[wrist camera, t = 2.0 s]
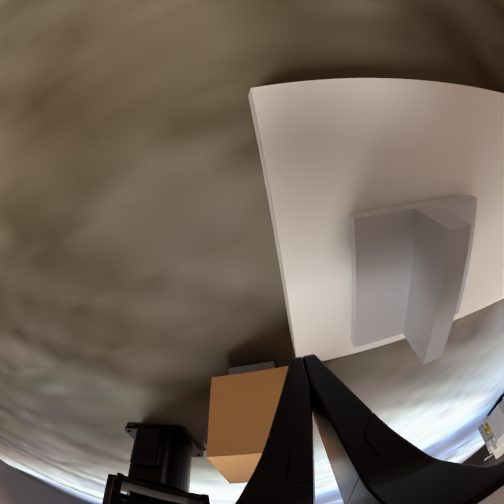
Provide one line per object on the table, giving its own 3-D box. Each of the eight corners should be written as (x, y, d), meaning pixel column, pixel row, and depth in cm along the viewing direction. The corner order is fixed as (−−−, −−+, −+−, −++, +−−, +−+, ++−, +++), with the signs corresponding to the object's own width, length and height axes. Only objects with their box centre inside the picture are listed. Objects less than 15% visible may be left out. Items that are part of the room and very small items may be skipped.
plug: (291, 391, 21) (306, 474, 14) (230, 401, 21) (230, 483, 14) (284, 349, 19) (302, 446, 12) (212, 361, 19) (206, 456, 12)
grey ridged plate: (453, 307, 14) (480, 338, 11) (350, 339, 14) (369, 382, 11) (469, 194, 11) (511, 214, 8) (348, 213, 11) (381, 244, 8)
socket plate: (494, 273, 17) (516, 291, 15) (289, 332, 18) (297, 366, 15) (504, 98, 11) (534, 101, 9) (248, 96, 12) (250, 87, 9)
